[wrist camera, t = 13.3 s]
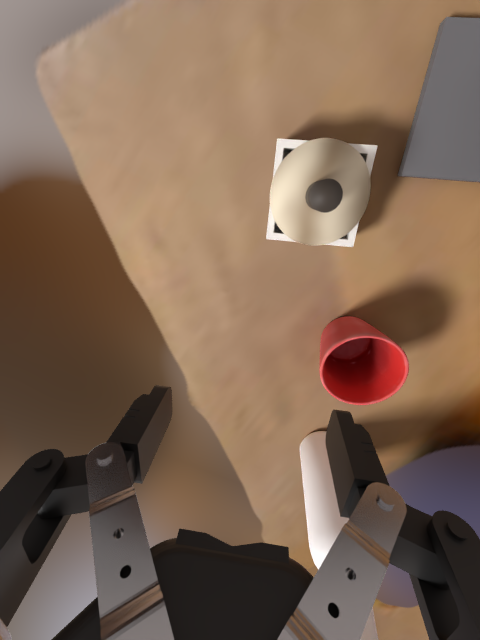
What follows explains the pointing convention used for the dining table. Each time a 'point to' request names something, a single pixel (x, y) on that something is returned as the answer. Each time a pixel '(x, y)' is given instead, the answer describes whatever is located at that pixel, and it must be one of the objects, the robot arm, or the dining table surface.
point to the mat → (448, 108)
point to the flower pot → (360, 362)
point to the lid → (320, 191)
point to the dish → (281, 152)
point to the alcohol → (323, 506)
